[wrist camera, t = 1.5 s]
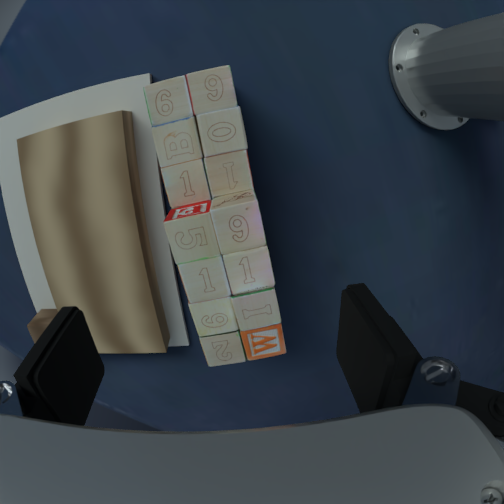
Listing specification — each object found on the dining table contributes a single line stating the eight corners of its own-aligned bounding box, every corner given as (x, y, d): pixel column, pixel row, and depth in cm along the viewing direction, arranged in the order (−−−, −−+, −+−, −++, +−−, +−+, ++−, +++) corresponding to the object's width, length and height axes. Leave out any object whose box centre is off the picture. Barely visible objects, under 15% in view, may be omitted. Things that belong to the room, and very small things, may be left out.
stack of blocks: (167, 96, 27) (128, 78, 16) (232, 81, 27) (233, 52, 16) (213, 294, 35) (208, 370, 24) (269, 283, 35) (287, 356, 24)
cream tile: (151, 74, 26) (149, 73, 25) (189, 341, 37) (189, 345, 36) (-4, 121, 25) (-8, 121, 24) (53, 342, 37) (51, 346, 36)
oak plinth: (131, 111, 26) (121, 110, 24) (170, 336, 36) (166, 352, 33) (32, 137, 26) (16, 139, 23) (82, 338, 35) (74, 352, 33)
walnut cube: (64, 308, 34) (51, 326, 30) (75, 335, 35) (63, 354, 32) (41, 308, 34) (27, 326, 30) (51, 334, 35) (39, 352, 31)
